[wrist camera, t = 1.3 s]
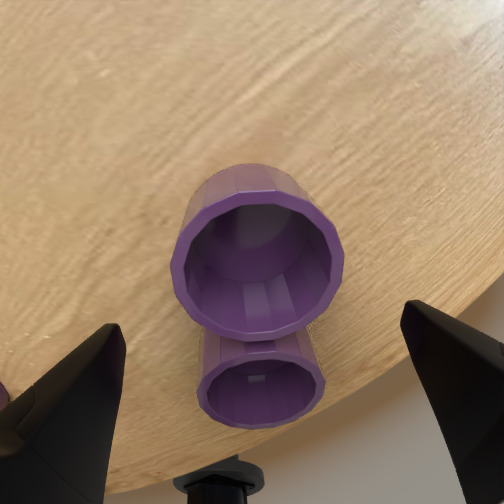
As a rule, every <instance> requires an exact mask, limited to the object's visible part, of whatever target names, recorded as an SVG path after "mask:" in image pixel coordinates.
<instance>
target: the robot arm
mask: <svg viewBox="0 0 504 504" xmlns="http://www.w3.org/2000/svg"><path fill="white" fill-rule="evenodd" d="M400 327H401V330H402V333H403V336H404V339H405V342H406V344H407V347H408V350H409V353H410V356H411V359H412V362H413V365H414V367H415V369H416V372H417V374H418V376H419V378H420V381H421V383H422V385H423V388H424V390H425V392H426V395H427V397H428V399H429V402H430V404H431V406H432V409H433V411H434V414H435V416H436V419H437V421H438V424H439V426H440V429H441V431H442V434H443V436H444V439H445V442H446V444H447V447H448V450H449V452H450V455H451V458H452V461H453V464H454V466H455V468H456V473H457V476H458V478H459V482H460V485H461V488H462V491H463V494H464V497H465V500H466V503H467V504H502V503H503V502H504V344H503V343H501V342H498V341H497V340H496V339H494V338H492V337H490V336H488V335H486V334H484V333H482V332H480V331H478V330H477V329H475V328H473V327H471V326H469V325H467V324H465V323H463V322H461V321H459V320H457V319H455V318H453V317H451V316H449V315H448V314H446V313H444V312H442V311H440V310H438V309H436V308H434V307H432V306H430V305H428V304H426V303H424V302H422V301H420V300H410V301H407V302H406V303H405V306H404V310H403V313H402V317H401V321H400ZM125 357H126V343H125V340H124V338H123V335H122V332H121V329H120V326H119V325H118V324H116V323H107V324H105V325H103V326H102V327H101V328H100V329H98V330H97V331H96V332H95V333H93V334H92V335H91V336H90V337H89V338H87V339H86V340H85V341H84V342H83V343H81V344H80V345H79V346H78V347H77V348H75V349H74V350H73V351H72V352H71V353H69V354H68V355H67V356H66V357H65V358H63V359H62V360H61V361H60V362H59V363H58V364H56V365H55V366H54V367H53V368H52V369H50V370H49V371H48V372H47V373H46V374H45V375H43V376H42V377H41V378H40V379H39V380H38V381H36V382H35V383H34V384H33V386H31V387H29V388H28V389H27V390H26V391H25V392H24V393H22V394H21V395H20V396H19V397H18V398H16V399H15V400H14V401H13V402H12V403H10V404H9V405H8V406H6V407H5V408H4V409H2V410H1V411H0V504H103V499H104V491H105V484H106V477H107V470H108V464H109V458H110V452H111V446H112V440H113V434H114V429H115V424H116V419H117V414H118V409H119V404H120V399H121V393H122V386H123V376H124V366H125ZM252 489H255V485H254V484H251V483H247V482H243V481H239V480H235V479H232V478H228V477H225V476H221V475H218V474H212V475H209V476H207V477H205V478H202V479H200V480H197V481H195V482H193V483H190V484H188V485H185V486H183V490H185V491H188V499H187V504H247V491H250V490H252Z"/></svg>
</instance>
